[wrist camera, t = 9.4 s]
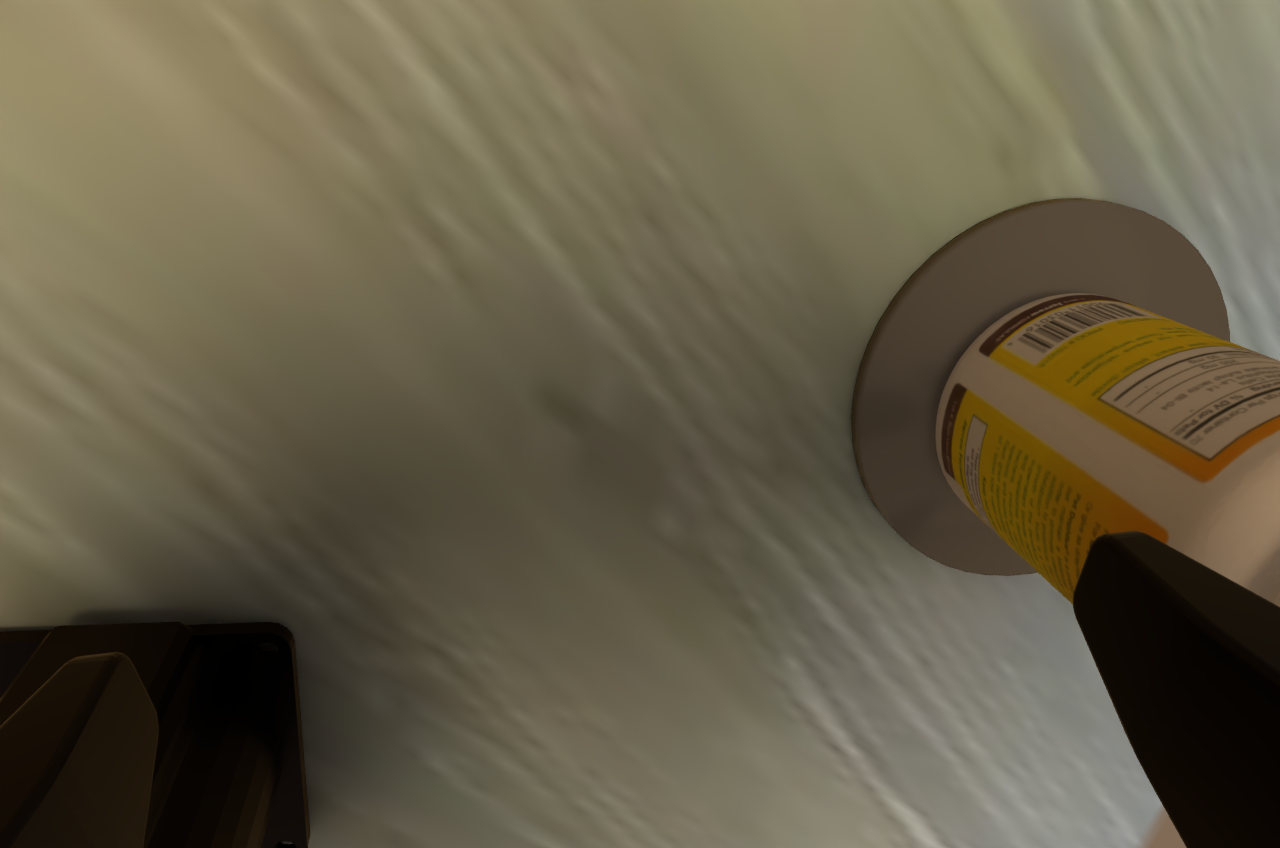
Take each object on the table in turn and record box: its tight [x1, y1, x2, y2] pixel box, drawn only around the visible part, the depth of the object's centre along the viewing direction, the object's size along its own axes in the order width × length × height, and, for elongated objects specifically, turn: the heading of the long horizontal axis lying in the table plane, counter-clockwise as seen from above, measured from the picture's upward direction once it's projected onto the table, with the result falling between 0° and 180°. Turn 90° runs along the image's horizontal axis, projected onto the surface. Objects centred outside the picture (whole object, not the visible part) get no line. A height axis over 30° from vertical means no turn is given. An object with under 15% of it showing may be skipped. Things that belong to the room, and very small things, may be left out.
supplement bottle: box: [936, 293, 1280, 607], centre depth 17 cm, size 6×6×10 cm
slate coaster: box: [852, 198, 1230, 576], centre depth 22 cm, size 9×9×1 cm
